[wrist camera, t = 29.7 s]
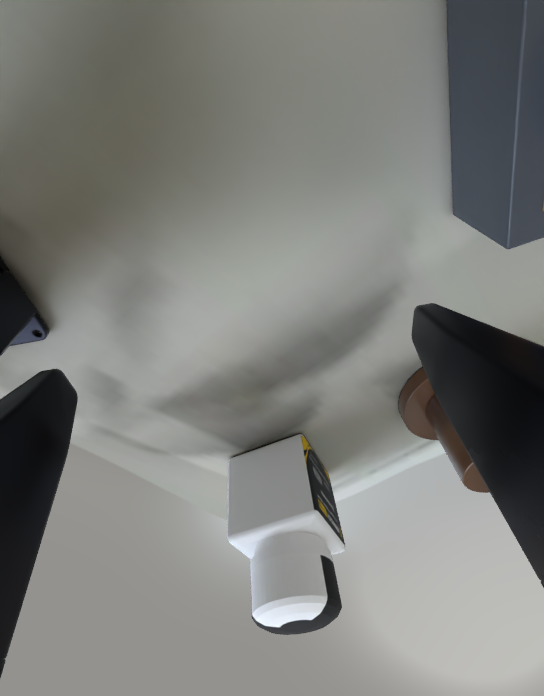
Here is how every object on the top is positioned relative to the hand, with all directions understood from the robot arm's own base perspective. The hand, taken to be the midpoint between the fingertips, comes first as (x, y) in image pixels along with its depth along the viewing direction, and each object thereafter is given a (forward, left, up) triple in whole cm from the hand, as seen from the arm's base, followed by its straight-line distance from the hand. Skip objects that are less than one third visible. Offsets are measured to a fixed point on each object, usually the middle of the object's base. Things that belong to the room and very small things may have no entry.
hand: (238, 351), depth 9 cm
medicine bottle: (-1, -23, -12) cm, 26 cm away
